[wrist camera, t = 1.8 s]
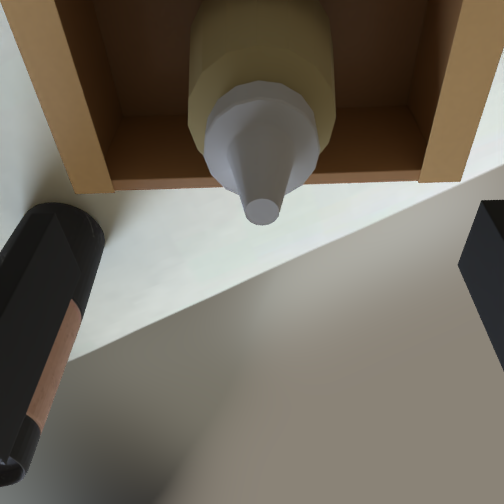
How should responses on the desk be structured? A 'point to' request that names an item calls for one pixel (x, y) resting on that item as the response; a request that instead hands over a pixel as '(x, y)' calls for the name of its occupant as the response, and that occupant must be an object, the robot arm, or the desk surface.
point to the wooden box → (177, 88)
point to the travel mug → (88, 258)
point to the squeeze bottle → (261, 96)
